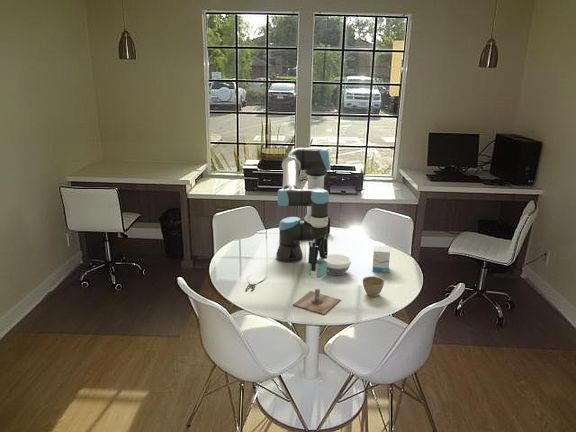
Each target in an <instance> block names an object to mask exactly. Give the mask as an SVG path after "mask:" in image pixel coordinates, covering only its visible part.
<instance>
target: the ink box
mask: <svg viewBox="0 0 576 432" xmlns="http://www.w3.org/2000/svg"><path fill="white" fill-rule="evenodd" d="M390 250H391V248H390V247H389V246H388V247H387V246H380V245H379V246H376V245H375V246H374V247H373V255H372V256H373V259H372V272H374V273H375V272H376V273H389V271H390V269H389V268H390V256H391V251H390Z"/></svg>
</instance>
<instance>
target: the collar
mask: <svg viewBox="0 0 576 432" xmlns="http://www.w3.org/2000/svg"><path fill="white" fill-rule="evenodd" d="M317 264H318V268H317V278H316V279H320V280H321V279H322V278H323V277H325V276H326V275H328V271H327V261H322V260H319V258H317ZM308 277H311V264H310V263H308Z"/></svg>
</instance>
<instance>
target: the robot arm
mask: <svg viewBox="0 0 576 432" xmlns="http://www.w3.org/2000/svg"><path fill="white" fill-rule="evenodd" d="M281 169H282V171H283V175H282V188H281V189H280V188H279V189H278V190H277V205H278V206H281V207H282V206H283V207H306V215H305V216H304V217H303V218H304V220H300V218H301V217H297V216H289V217H288V216H287V217H286V218H285V217H284V218H282V219H281V220H280V221H279V227H278V229H279V230H278V231H279V234H278V235H279V237H278V238H279V240H278V241H279V242H278V243H279V245H278V247H277V251H276V256H275V257H276V259H277V260H278V261H279V262H284V263H298V262H300V261H301V260H303V258H304V254H303V251H302V248H301V242H308V247H309V248H308V264H309V263H310V264H311V276H310V277H311V278H315V279H318V278H317V268H318V264H317V259H318V260H322V261H325V259H327V255H329V254H328V251H329V249H328V248H329V247H328V246H329V245H328V243H329V242H328V239H329V234H328V235H327V233H328V226H327V225H328V217H329V200H330V193H329V191H328V190H327V189H325V188H324V187H325V186H324V185H325V184H324V183H325V176H327V175H328V172H329V171H330V170H331V162H330V154H329V150H328V149H327V148H325V147H296V148H293V149H291V150H290V151H288V152H287V153H286V154H285V155H284V156H283V158H282V161H281ZM300 171H304V173H305V175H306V176H307V188H306V189H299V186H300V185H299V183H300V181H299V180H300V179H299V177H300V175H299V174H300V173H299V172H300Z"/></svg>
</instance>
